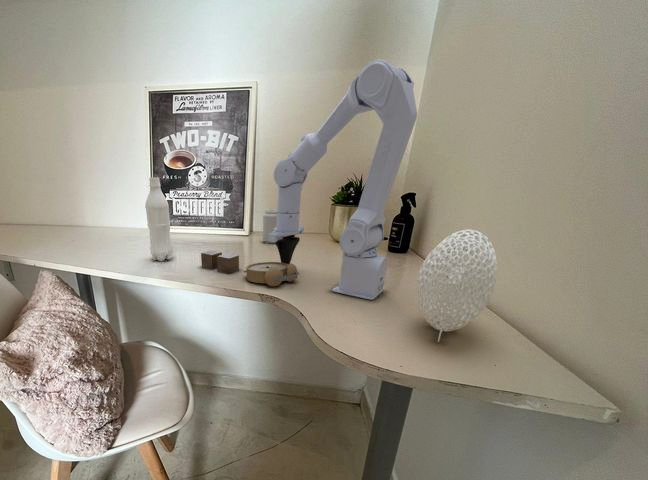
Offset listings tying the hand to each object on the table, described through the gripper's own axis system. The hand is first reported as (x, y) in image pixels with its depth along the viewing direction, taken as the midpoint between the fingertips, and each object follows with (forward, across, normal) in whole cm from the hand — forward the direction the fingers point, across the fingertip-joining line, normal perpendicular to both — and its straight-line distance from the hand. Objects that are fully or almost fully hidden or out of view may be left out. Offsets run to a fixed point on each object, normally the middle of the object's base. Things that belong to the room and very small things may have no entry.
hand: (285, 264), depth 91 cm
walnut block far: (+3, +6, -22) cm, 23 cm away
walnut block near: (+3, +6, -15) cm, 17 cm away
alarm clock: (+3, +7, 0) cm, 7 cm away
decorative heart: (+3, +12, +40) cm, 42 cm away
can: (+3, -34, -27) cm, 44 cm away
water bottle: (+3, +10, -41) cm, 42 cm away
